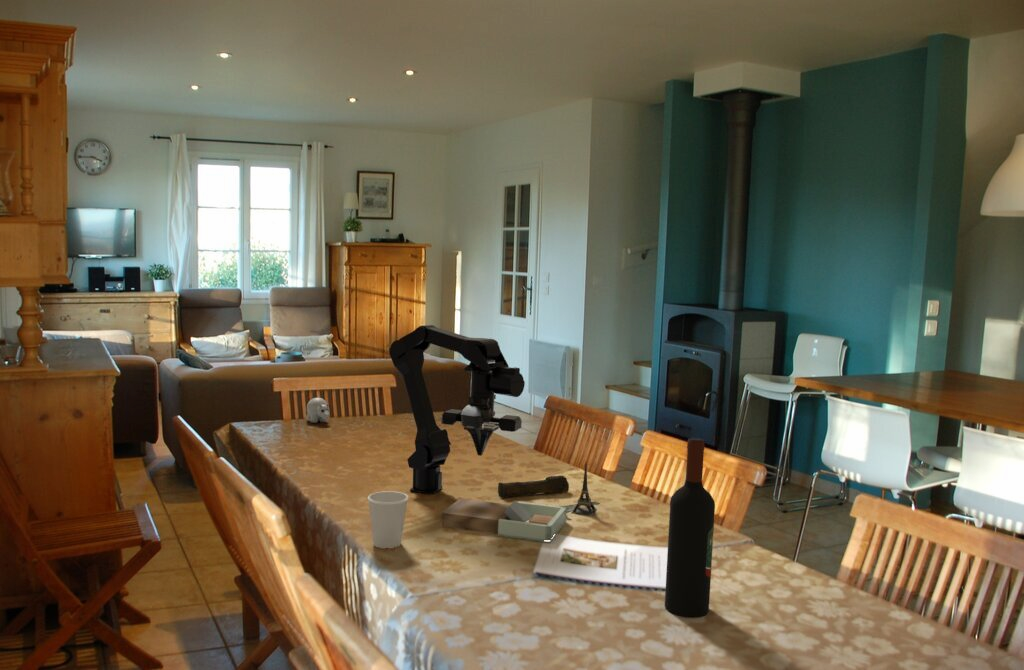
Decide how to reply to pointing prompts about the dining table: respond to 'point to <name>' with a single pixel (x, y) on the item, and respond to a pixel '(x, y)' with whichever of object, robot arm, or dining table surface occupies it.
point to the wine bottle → (690, 541)
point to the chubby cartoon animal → (317, 410)
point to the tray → (532, 529)
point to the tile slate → (517, 512)
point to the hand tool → (534, 487)
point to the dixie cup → (387, 517)
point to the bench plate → (474, 515)
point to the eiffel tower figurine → (583, 501)
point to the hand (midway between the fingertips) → (480, 455)
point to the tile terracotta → (540, 519)
